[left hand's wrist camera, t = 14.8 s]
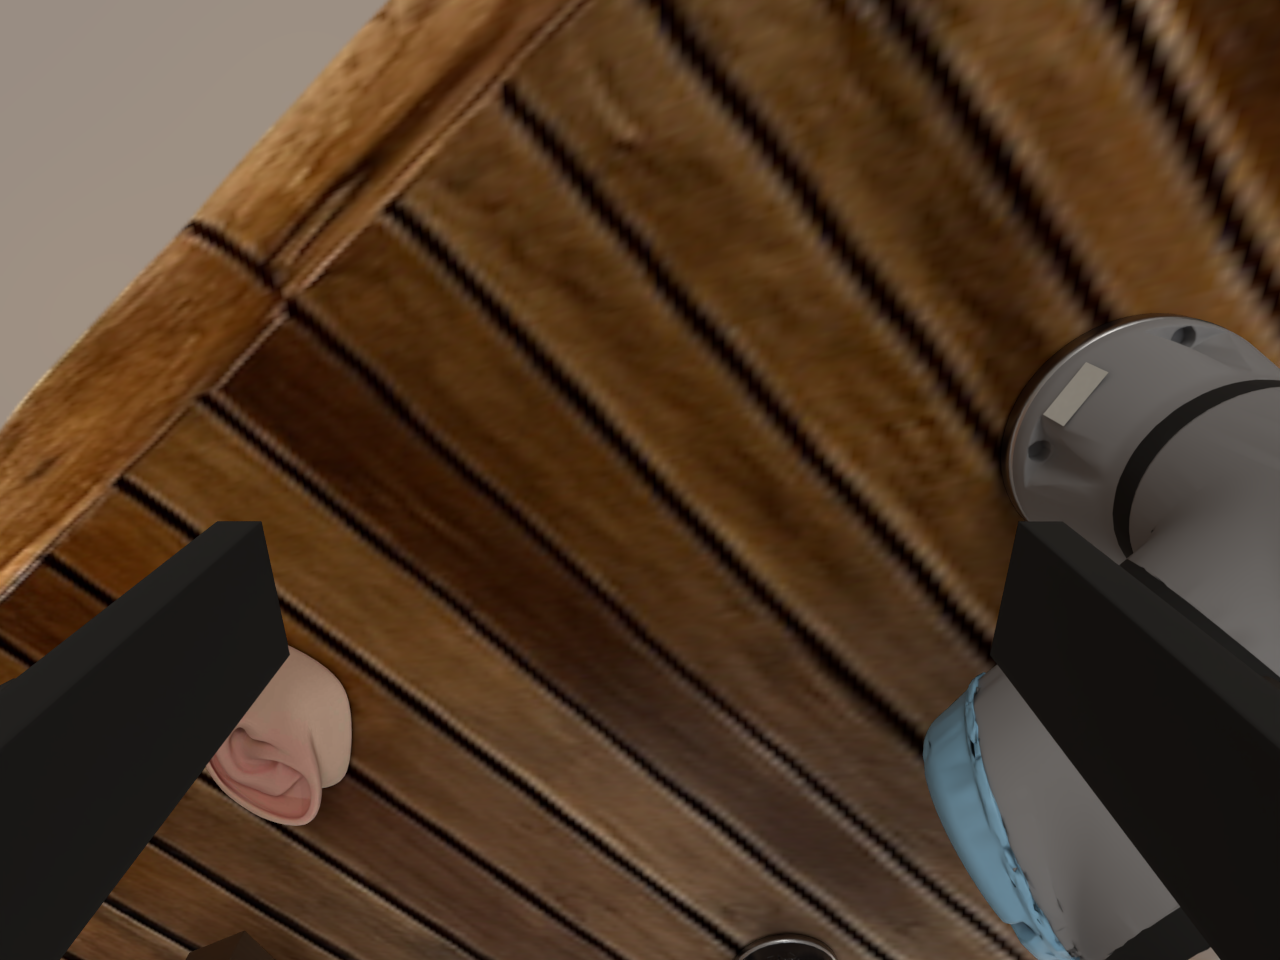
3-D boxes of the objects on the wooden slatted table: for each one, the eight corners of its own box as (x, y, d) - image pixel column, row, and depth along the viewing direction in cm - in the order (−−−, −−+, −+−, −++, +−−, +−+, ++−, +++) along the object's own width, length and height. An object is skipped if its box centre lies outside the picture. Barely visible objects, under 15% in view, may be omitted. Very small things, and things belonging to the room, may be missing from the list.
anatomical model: (171, 653, 46) (350, 698, 47) (205, 619, 50) (371, 661, 51) (156, 804, 51) (320, 841, 52) (189, 762, 54) (341, 798, 56)
